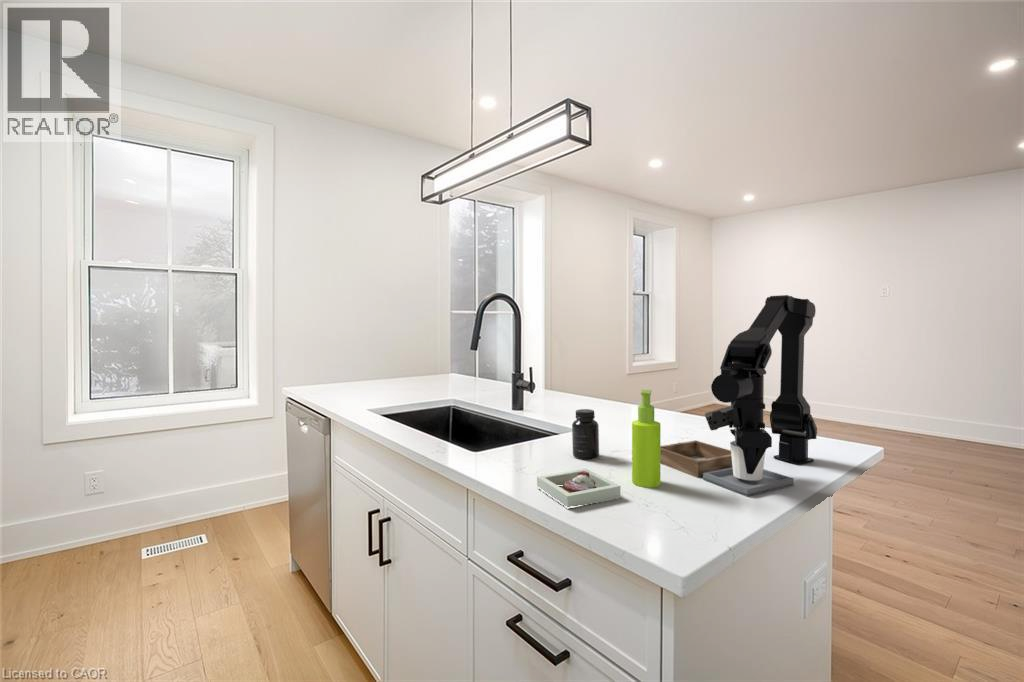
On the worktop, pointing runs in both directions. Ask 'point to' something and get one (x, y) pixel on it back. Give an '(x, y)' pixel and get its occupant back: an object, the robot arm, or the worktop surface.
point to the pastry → (579, 483)
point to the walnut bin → (679, 459)
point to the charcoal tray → (748, 482)
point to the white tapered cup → (739, 464)
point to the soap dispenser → (646, 445)
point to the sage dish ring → (602, 493)
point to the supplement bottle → (585, 435)
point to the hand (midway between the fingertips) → (747, 469)
